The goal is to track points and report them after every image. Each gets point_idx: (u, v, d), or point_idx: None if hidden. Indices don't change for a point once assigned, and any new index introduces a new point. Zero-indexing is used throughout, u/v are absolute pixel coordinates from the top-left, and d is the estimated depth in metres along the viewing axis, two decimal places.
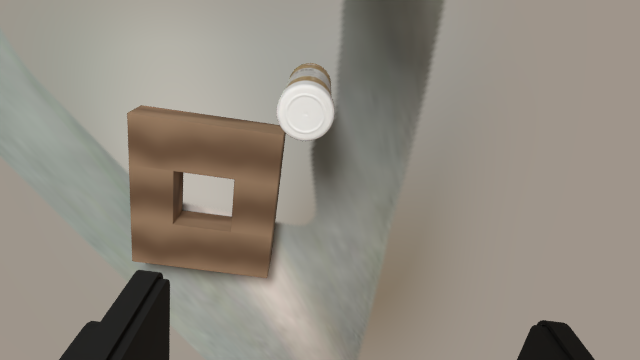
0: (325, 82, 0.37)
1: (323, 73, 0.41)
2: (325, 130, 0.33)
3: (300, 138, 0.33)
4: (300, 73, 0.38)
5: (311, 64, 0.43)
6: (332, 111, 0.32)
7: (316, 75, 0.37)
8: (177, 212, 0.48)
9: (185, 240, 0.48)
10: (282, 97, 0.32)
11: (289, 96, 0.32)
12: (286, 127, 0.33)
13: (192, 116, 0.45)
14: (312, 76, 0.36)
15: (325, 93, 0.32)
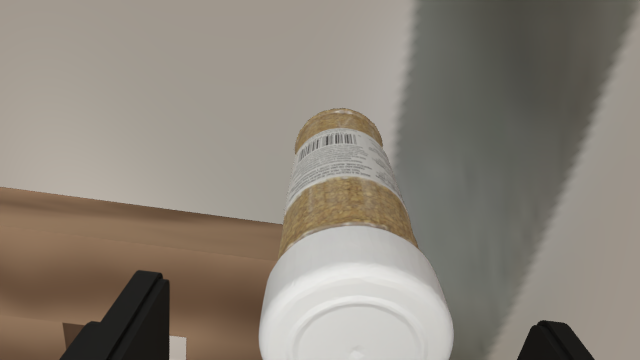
0: (394, 187, 0.14)
1: (375, 141, 0.18)
2: None
3: None
4: (326, 156, 0.15)
5: (344, 112, 0.20)
6: (449, 344, 0.09)
7: (369, 167, 0.14)
8: None
9: None
10: (277, 304, 0.09)
11: (303, 305, 0.09)
12: None
13: (98, 213, 0.22)
14: (362, 178, 0.13)
15: (430, 292, 0.09)
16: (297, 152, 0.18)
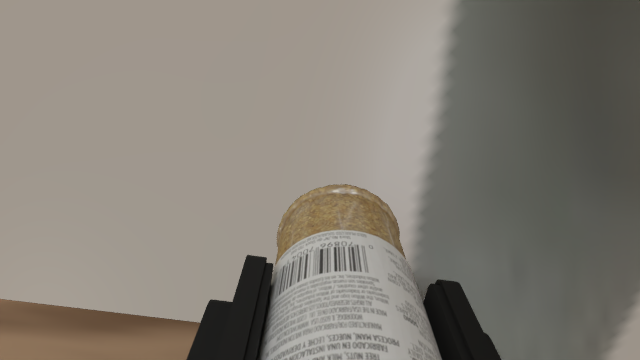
0: None
1: (394, 248, 0.12)
2: None
3: None
4: (320, 307, 0.09)
5: (345, 191, 0.14)
6: None
7: (396, 339, 0.08)
8: None
9: None
10: None
11: None
12: None
13: (3, 326, 0.16)
14: None
15: None
16: (276, 264, 0.12)
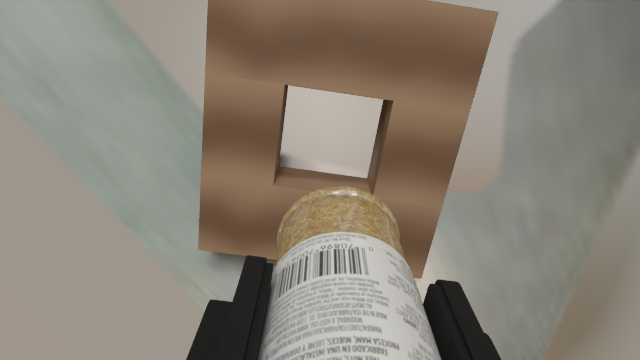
0: None
1: (394, 251, 0.12)
2: None
3: None
4: (319, 310, 0.09)
5: (345, 193, 0.14)
6: None
7: (396, 343, 0.08)
8: (276, 166, 0.28)
9: None
10: None
11: None
12: None
13: None
14: None
15: None
16: (276, 266, 0.12)
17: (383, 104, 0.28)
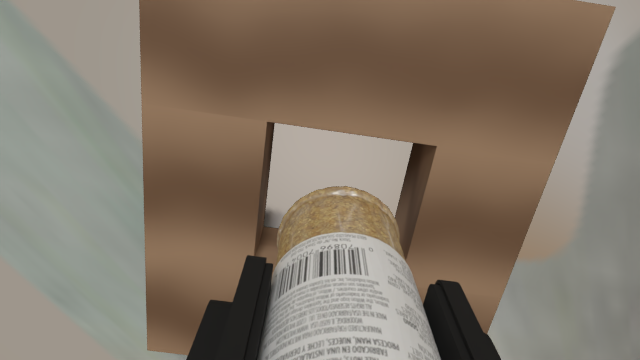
0: None
1: (394, 251, 0.12)
2: None
3: None
4: (319, 310, 0.09)
5: (345, 193, 0.14)
6: None
7: (395, 343, 0.08)
8: (259, 233, 0.20)
9: None
10: None
11: None
12: None
13: None
14: None
15: None
16: (276, 267, 0.12)
17: (415, 143, 0.19)
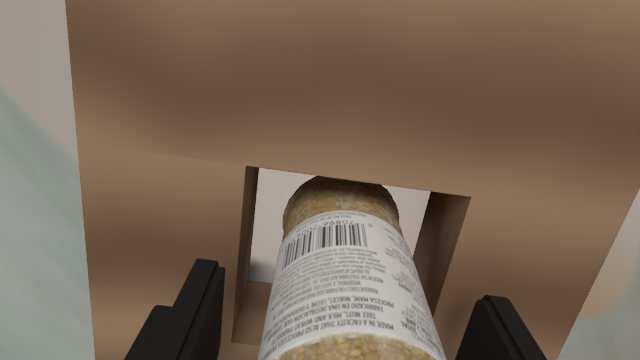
0: (431, 337, 0.09)
1: (392, 228, 0.12)
2: None
3: None
4: (322, 275, 0.10)
5: None
6: None
7: (391, 302, 0.09)
8: (241, 295, 0.16)
9: None
10: None
11: None
12: None
13: None
14: (381, 335, 0.08)
15: None
16: (282, 243, 0.13)
17: None
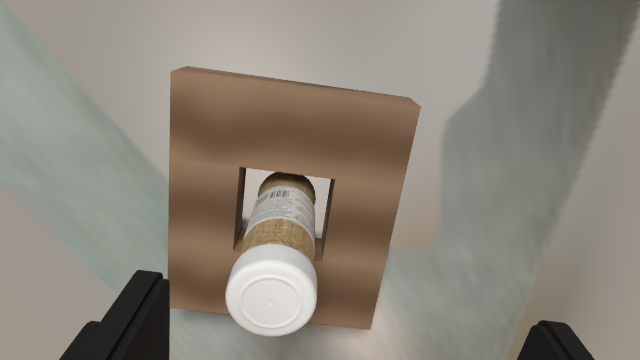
0: (304, 223, 0.25)
1: (303, 193, 0.29)
2: (303, 323, 0.21)
3: (264, 334, 0.21)
4: (269, 205, 0.26)
5: (288, 173, 0.31)
6: (313, 297, 0.20)
7: (291, 212, 0.25)
8: (237, 232, 0.32)
9: None
10: (233, 280, 0.20)
11: (244, 280, 0.20)
12: (241, 320, 0.21)
13: (269, 80, 0.28)
14: (285, 218, 0.24)
15: (301, 272, 0.20)
16: (256, 201, 0.29)
17: None
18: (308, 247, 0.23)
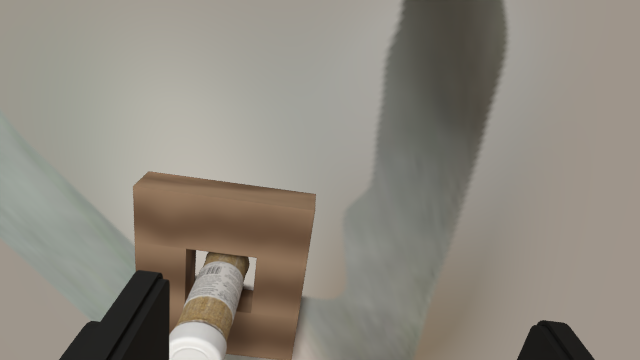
0: (226, 297, 0.35)
1: (234, 267, 0.39)
2: None
3: None
4: (203, 282, 0.36)
5: None
6: None
7: (217, 289, 0.36)
8: (189, 289, 0.42)
9: None
10: None
11: (172, 349, 0.30)
12: None
13: (208, 185, 0.38)
14: (210, 296, 0.35)
15: (210, 344, 0.30)
16: None
17: None
18: (224, 319, 0.34)
